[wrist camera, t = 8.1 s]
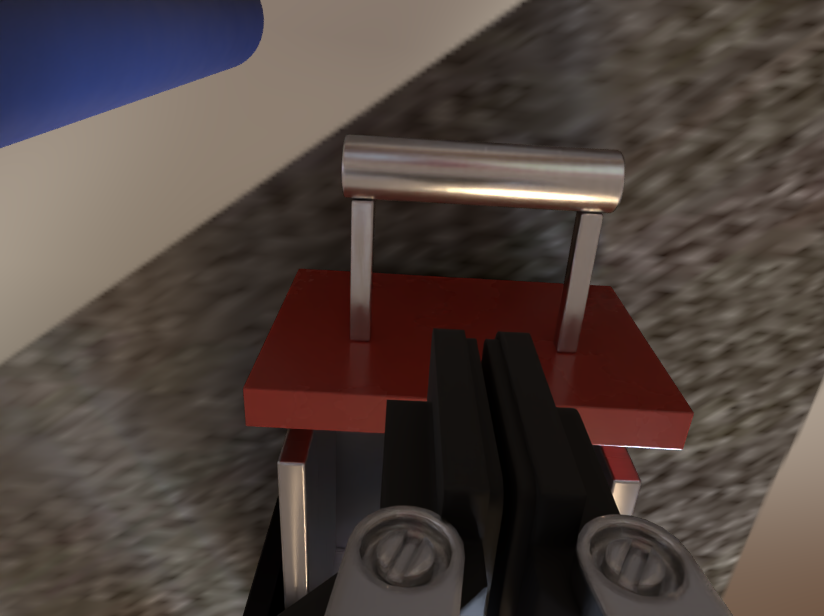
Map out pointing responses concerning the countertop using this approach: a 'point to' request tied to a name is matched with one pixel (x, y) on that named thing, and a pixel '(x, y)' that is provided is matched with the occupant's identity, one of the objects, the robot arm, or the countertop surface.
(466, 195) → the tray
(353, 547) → the robot arm
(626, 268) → the countertop surface
